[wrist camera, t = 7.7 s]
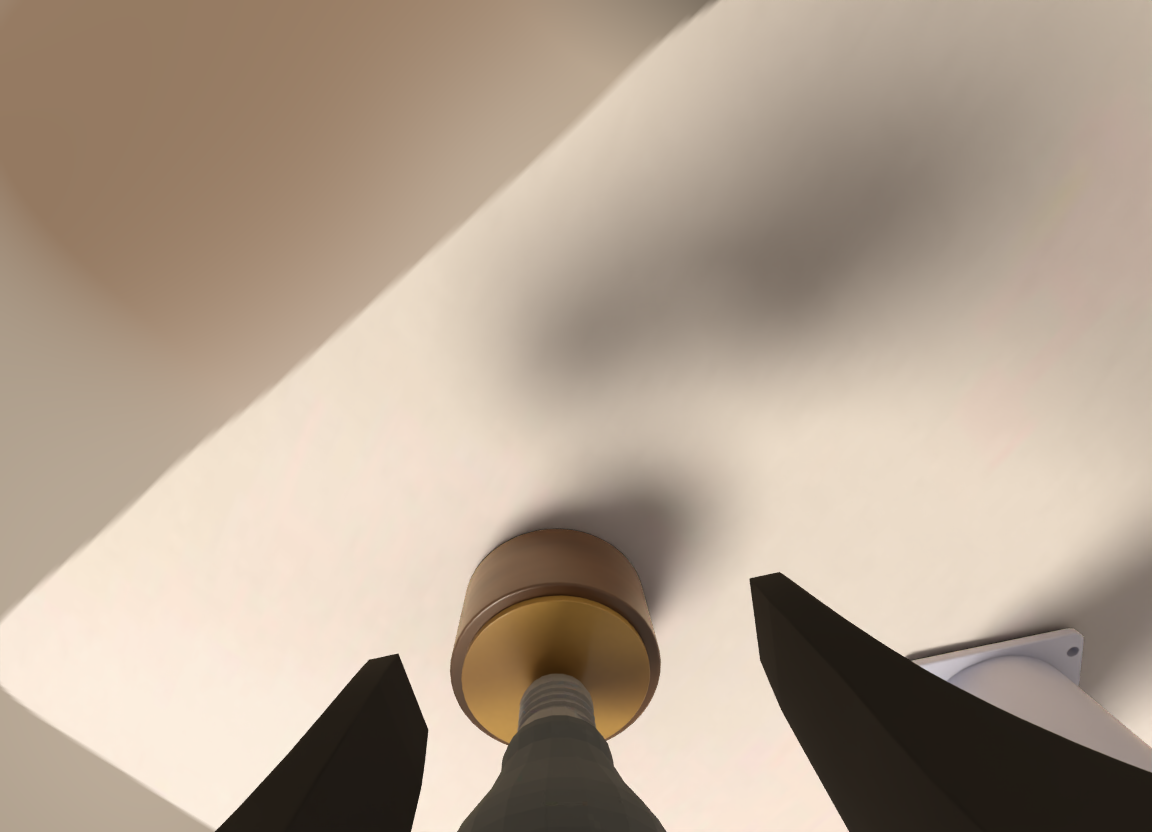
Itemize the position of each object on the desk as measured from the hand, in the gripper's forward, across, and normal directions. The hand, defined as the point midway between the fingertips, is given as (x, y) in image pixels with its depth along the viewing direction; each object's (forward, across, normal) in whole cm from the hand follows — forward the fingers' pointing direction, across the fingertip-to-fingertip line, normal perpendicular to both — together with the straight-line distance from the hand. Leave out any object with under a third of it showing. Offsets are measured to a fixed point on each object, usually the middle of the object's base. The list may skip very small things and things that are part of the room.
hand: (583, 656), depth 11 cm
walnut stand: (+10, +2, +6) cm, 12 cm away
